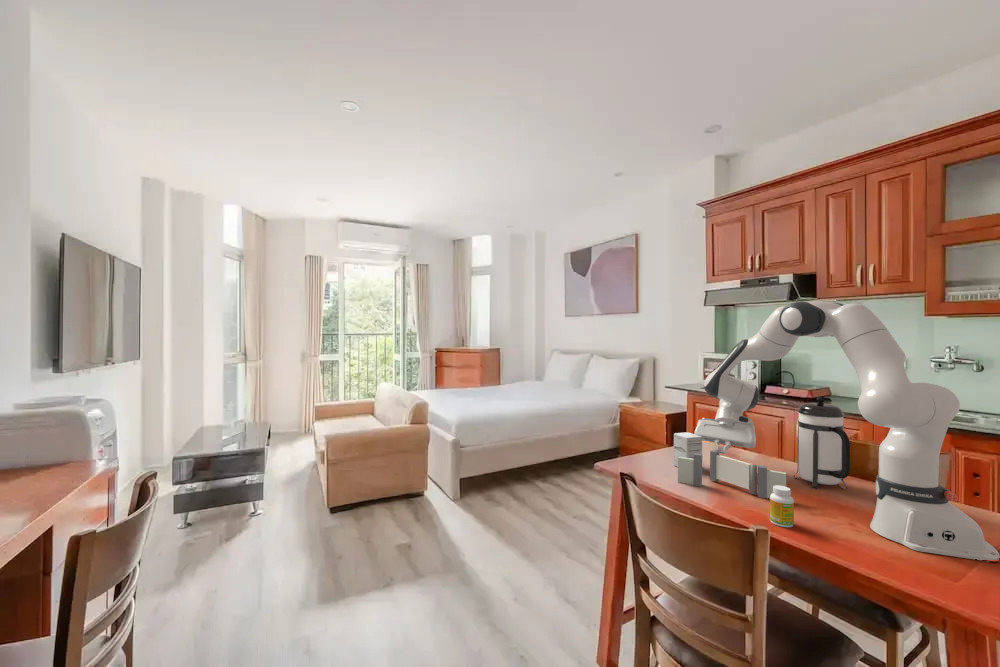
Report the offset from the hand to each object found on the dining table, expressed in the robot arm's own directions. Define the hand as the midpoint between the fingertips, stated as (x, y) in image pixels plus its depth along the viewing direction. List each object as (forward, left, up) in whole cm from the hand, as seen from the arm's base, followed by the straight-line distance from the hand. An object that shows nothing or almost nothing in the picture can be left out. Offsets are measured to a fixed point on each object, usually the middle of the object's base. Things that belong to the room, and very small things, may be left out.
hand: (720, 452), depth 154 cm
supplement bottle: (-18, +35, -8) cm, 40 cm away
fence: (-4, +16, -8) cm, 18 cm away
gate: (-5, +13, -8) cm, 16 cm away
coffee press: (-31, -7, -8) cm, 33 cm away
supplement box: (+11, -2, -8) cm, 14 cm away
